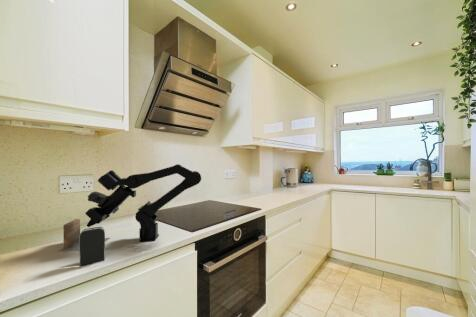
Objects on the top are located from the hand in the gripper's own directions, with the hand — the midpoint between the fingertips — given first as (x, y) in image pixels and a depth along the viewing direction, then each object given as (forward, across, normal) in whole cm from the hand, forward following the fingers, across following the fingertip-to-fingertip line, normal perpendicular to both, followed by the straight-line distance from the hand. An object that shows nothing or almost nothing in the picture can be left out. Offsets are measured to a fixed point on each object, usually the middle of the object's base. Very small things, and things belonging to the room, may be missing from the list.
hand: (87, 226), depth 84 cm
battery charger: (-1, +18, +12) cm, 22 cm away
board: (+9, 0, +1) cm, 9 cm away
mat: (+5, +1, +5) cm, 7 cm away
